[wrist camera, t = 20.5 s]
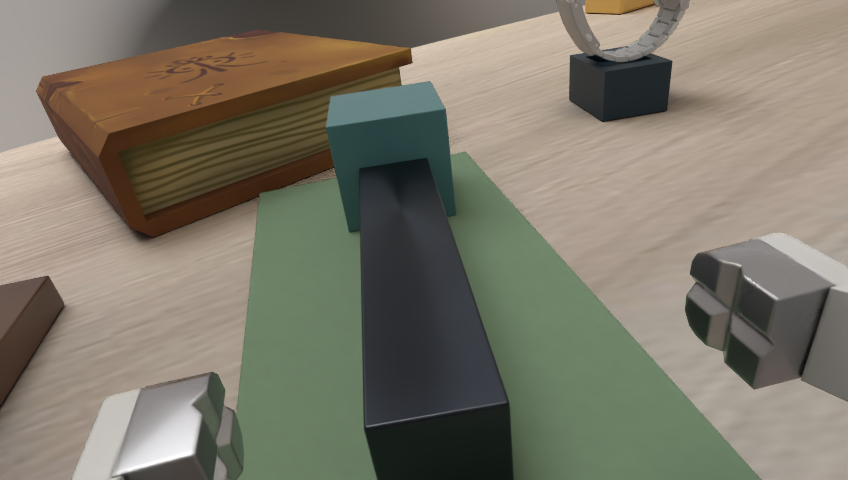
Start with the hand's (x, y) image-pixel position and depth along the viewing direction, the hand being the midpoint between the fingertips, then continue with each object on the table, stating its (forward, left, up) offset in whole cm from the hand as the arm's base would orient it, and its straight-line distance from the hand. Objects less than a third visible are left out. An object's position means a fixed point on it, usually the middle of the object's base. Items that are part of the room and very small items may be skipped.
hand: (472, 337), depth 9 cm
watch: (+26, -18, -6) cm, 32 cm away
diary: (+34, +9, -6) cm, 35 cm away
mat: (+10, 0, -6) cm, 11 cm away
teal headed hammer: (+10, 0, -5) cm, 12 cm away
